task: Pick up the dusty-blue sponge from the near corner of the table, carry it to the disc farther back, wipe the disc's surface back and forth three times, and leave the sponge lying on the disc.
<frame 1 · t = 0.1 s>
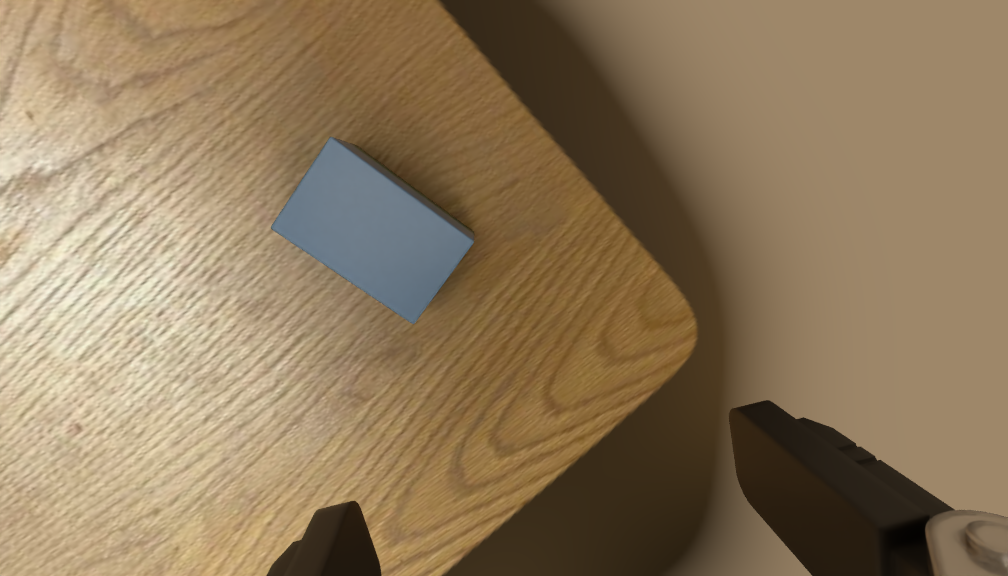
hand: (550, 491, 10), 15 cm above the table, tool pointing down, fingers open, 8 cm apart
sponge: (390, 227, 23), on the table
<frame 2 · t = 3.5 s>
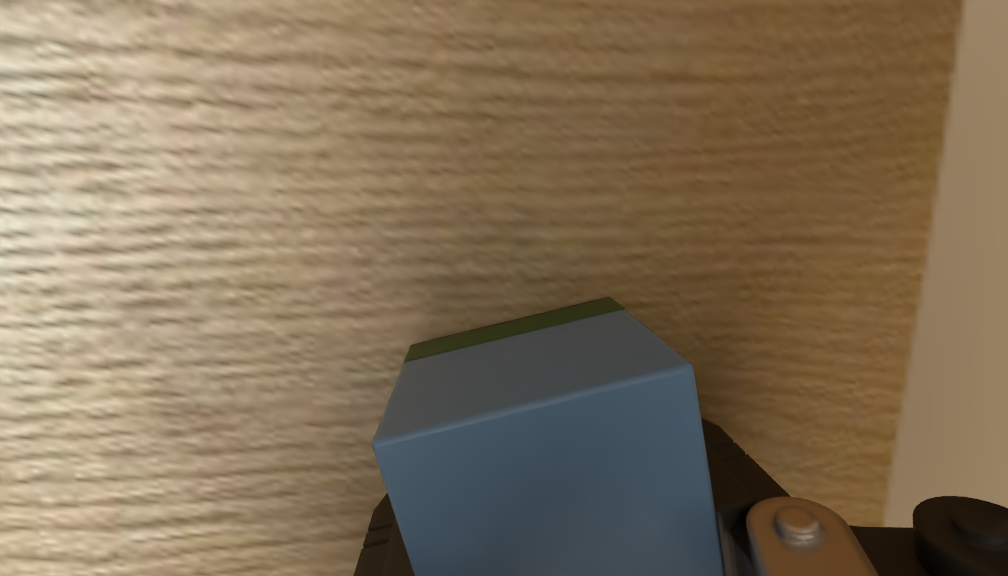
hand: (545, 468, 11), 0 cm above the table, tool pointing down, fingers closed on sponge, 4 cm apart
sponge: (543, 460, 11), on the table, touching gripper
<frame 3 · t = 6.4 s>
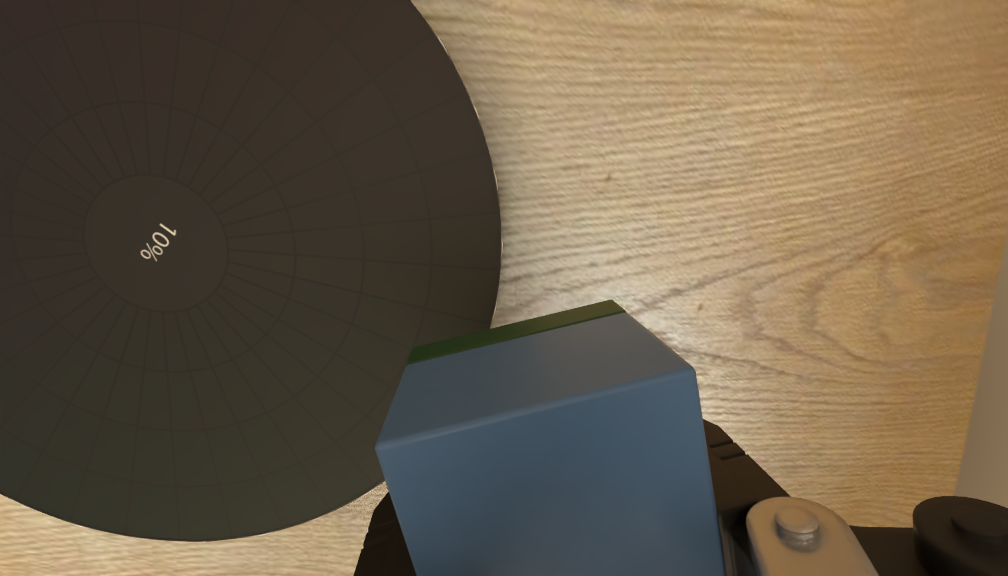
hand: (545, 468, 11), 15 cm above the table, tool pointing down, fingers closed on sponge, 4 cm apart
sponge: (545, 462, 11), point 14 cm above the table, touching gripper
disc: (198, 238, 23), on the table
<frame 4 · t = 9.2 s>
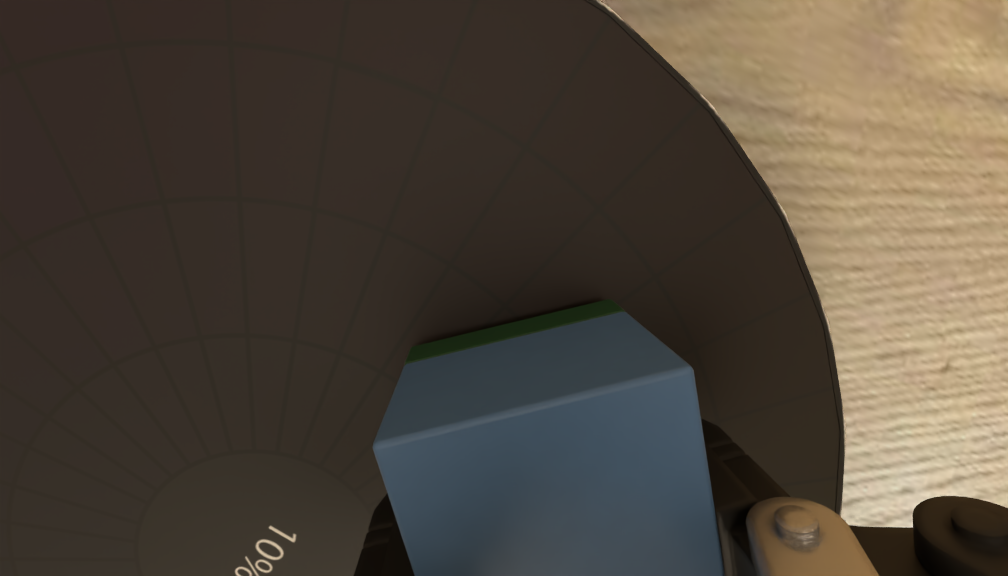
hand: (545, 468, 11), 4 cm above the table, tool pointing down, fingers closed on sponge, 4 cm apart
sponge: (544, 461, 11), point 3 cm above the table, touching gripper
disc: (306, 483, 15), on the table
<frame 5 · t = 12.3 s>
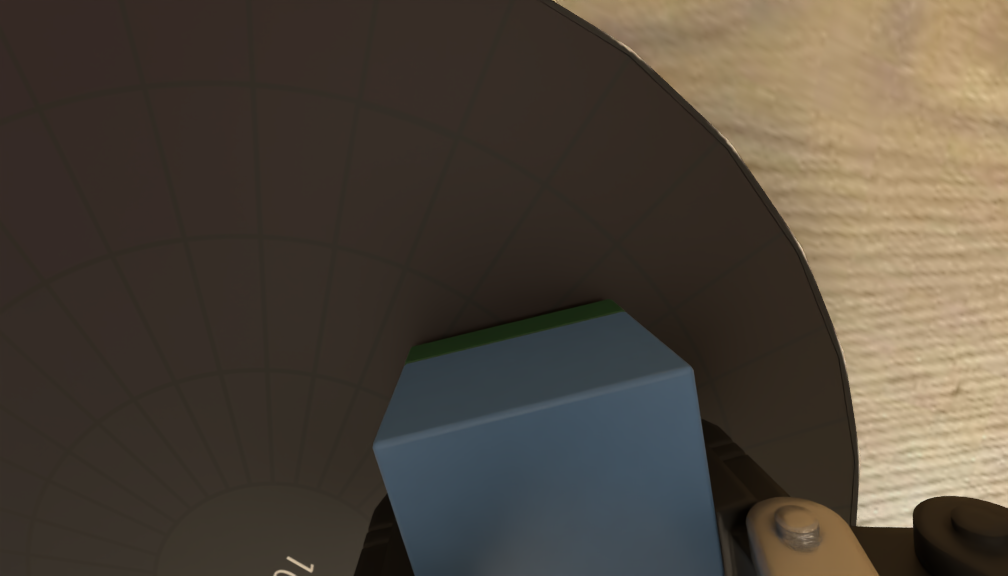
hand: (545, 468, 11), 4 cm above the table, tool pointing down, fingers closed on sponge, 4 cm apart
sponge: (544, 461, 11), point 3 cm above the table, touching gripper
disc: (319, 507, 15), on the table
when the fingers open (3 cm above the table, at t = 14.9 s): sponge stays where it is, resting on disc.
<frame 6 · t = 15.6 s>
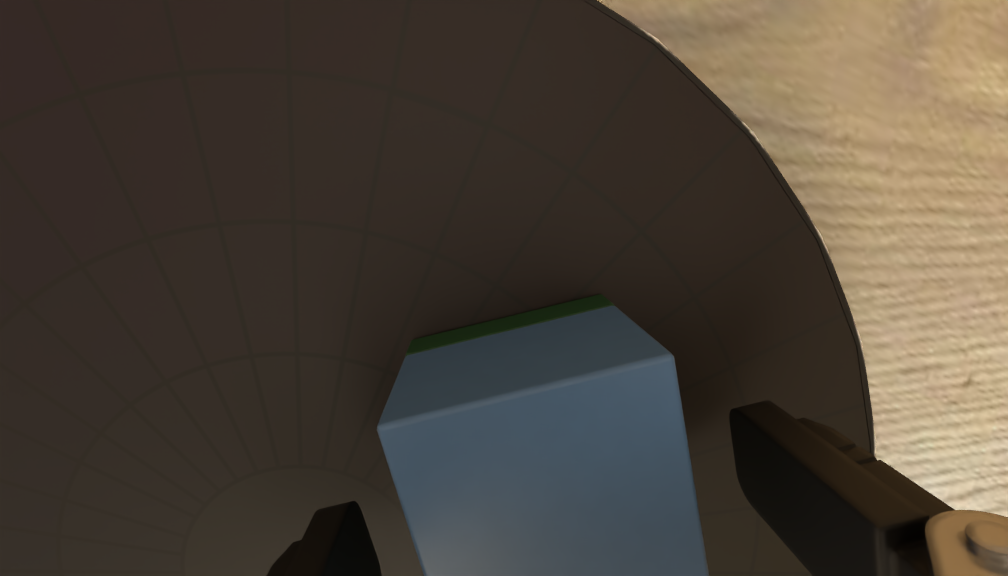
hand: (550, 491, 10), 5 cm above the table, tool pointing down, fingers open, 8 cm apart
sponge: (538, 449, 11), point 3 cm above the table, touching disc
disc: (339, 494, 15), on the table, touching sponge
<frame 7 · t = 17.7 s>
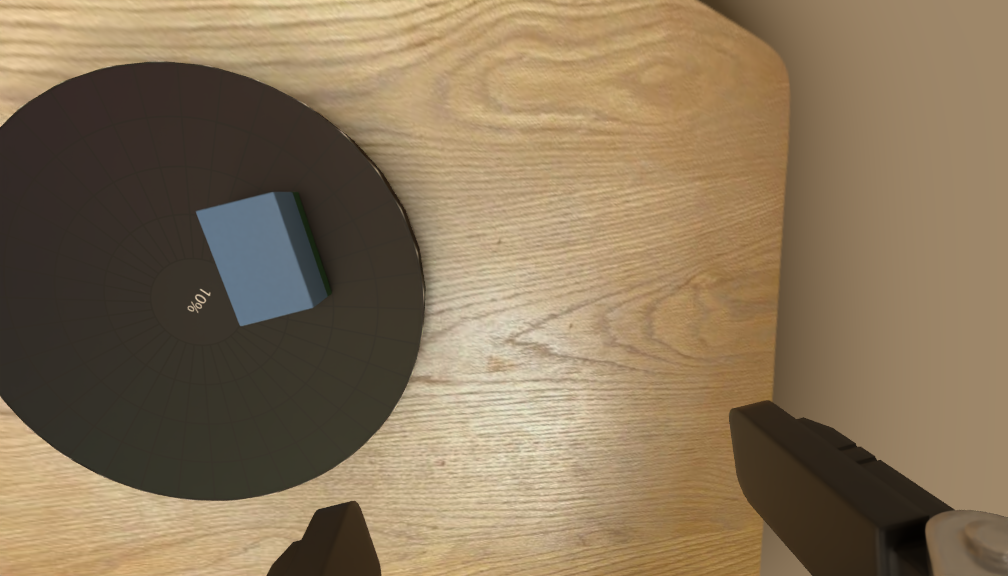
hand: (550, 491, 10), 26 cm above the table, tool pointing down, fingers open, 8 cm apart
sponge: (282, 252, 31), point 3 cm above the table, touching disc
disc: (221, 293, 34), on the table, touching sponge
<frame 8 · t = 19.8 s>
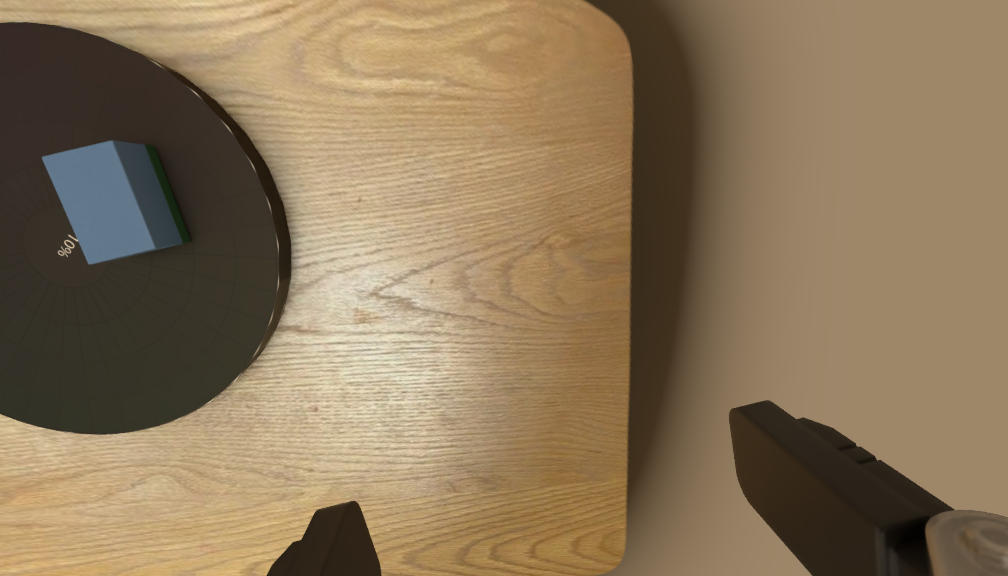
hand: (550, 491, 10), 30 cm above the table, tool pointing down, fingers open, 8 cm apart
sponge: (143, 202, 34), point 3 cm above the table, touching disc
disc: (100, 243, 37), on the table, touching sponge
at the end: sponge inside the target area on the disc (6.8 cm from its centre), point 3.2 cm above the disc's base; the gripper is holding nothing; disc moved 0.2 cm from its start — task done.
